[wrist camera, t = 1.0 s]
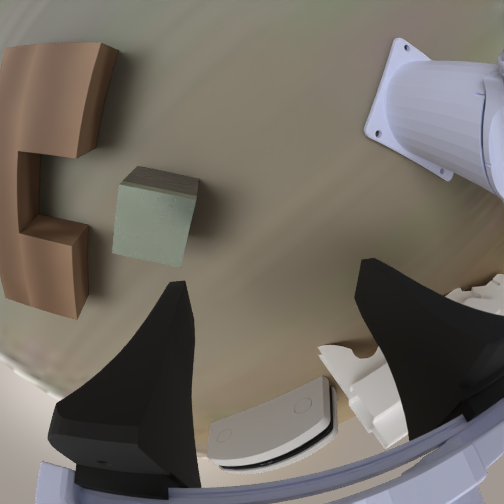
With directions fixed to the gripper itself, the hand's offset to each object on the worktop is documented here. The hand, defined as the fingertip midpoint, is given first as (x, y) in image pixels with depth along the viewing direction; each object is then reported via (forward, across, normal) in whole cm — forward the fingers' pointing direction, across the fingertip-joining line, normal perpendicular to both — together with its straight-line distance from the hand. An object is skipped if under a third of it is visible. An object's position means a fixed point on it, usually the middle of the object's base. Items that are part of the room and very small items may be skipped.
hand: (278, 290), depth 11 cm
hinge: (+9, -1, +25) cm, 27 cm away
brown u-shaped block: (+8, +14, -4) cm, 17 cm away
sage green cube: (+9, +6, -1) cm, 10 cm away
